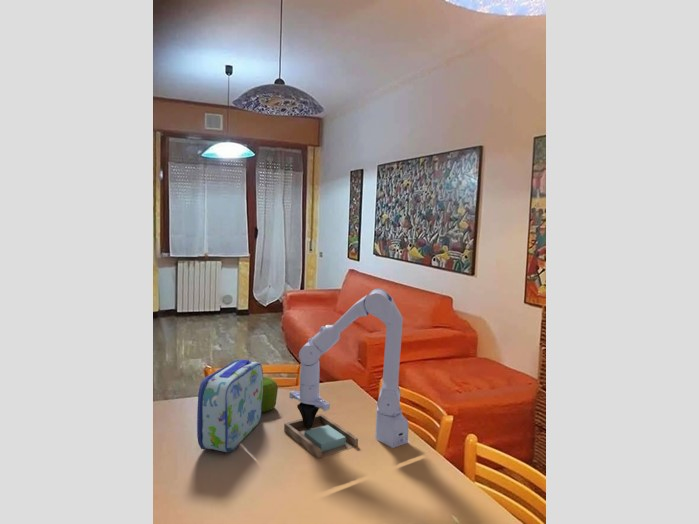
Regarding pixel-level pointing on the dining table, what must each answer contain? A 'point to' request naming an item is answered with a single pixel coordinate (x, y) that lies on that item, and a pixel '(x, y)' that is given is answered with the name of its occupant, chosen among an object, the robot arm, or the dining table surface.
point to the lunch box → (229, 405)
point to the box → (298, 430)
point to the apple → (269, 394)
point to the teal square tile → (325, 437)
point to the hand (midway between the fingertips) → (308, 427)
